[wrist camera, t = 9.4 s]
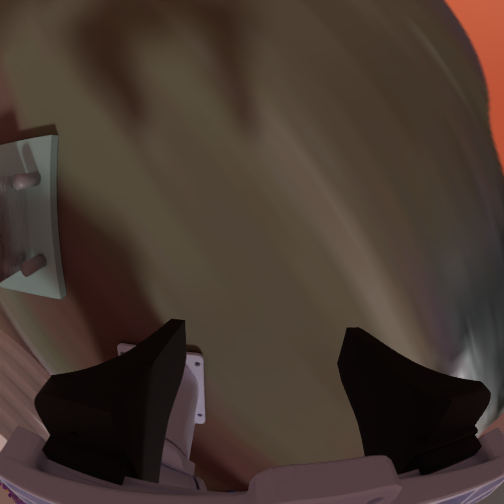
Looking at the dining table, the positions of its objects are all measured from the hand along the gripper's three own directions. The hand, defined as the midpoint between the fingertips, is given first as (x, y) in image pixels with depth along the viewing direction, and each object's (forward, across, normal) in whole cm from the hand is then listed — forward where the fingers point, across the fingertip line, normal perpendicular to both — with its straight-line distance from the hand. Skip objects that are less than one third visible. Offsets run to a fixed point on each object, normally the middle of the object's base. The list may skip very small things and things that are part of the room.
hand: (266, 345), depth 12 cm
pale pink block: (+9, +22, -3) cm, 24 cm away
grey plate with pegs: (+10, +22, -3) cm, 24 cm away
